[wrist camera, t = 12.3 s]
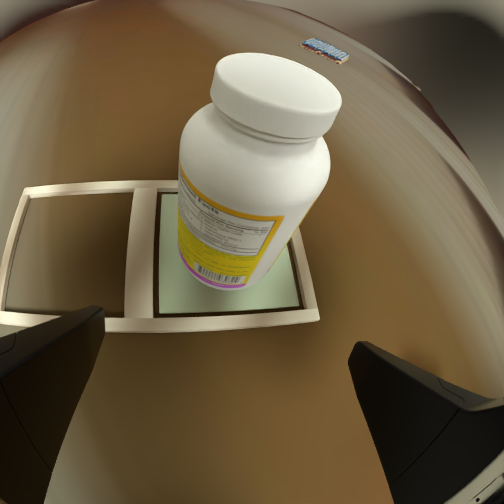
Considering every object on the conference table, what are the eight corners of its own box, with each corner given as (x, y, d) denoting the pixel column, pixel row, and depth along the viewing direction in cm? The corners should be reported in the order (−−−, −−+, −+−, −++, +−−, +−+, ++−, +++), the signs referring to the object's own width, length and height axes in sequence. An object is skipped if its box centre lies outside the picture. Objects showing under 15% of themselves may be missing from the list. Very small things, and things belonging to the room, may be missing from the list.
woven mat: (348, 60, 53) (351, 54, 51) (339, 67, 47) (343, 60, 46) (311, 42, 53) (314, 36, 52) (297, 47, 48) (300, 40, 46)
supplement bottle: (242, 199, 22) (297, 47, 11) (288, 269, 20) (398, 127, 9) (162, 227, 19) (163, 48, 8) (204, 311, 17) (251, 147, 6)
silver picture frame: (-5, 322, 12) (-8, 320, 12) (26, 191, 17) (24, 188, 17) (316, 321, 18) (319, 319, 18) (285, 188, 24) (287, 185, 23)
